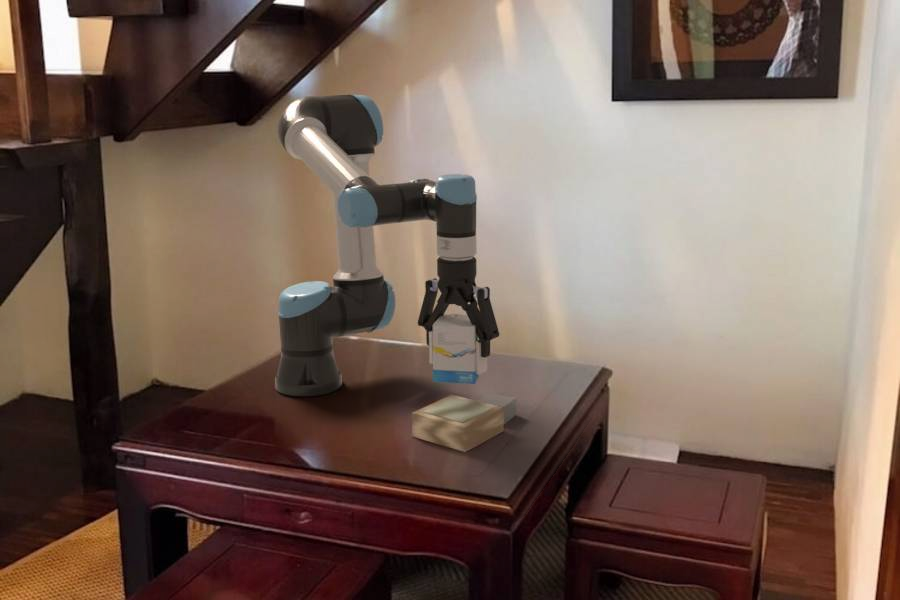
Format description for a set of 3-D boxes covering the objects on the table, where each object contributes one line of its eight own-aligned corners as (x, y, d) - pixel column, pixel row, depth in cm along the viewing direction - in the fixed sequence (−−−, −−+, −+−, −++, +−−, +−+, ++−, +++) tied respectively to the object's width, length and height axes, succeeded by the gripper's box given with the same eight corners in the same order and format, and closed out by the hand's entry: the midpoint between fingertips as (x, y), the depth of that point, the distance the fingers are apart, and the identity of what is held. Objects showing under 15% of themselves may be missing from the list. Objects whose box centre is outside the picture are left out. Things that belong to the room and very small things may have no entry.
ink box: (475, 385, 191) (474, 326, 188) (432, 382, 192) (431, 324, 190) (483, 371, 199) (483, 314, 196) (441, 368, 200) (440, 312, 198)
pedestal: (412, 436, 198) (411, 411, 196) (452, 417, 208) (451, 393, 206) (465, 451, 190) (464, 426, 189) (503, 431, 200) (503, 406, 199)
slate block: (477, 420, 206) (477, 402, 205) (490, 411, 211) (490, 393, 210) (503, 425, 203) (503, 407, 202) (516, 415, 208) (516, 397, 207)
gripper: (397, 253, 194) (400, 361, 199) (495, 267, 180) (495, 383, 185) (421, 247, 199) (423, 352, 205) (518, 260, 186) (518, 372, 191)
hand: (458, 367), depth 195 cm, fingers closed on ink box, 11 cm apart
